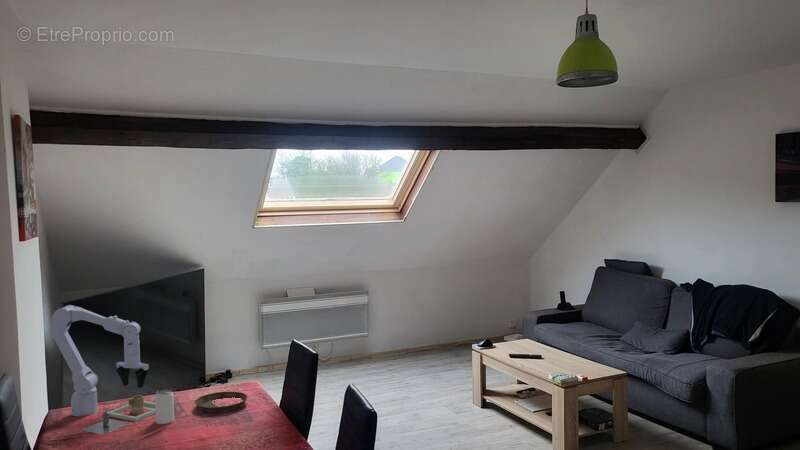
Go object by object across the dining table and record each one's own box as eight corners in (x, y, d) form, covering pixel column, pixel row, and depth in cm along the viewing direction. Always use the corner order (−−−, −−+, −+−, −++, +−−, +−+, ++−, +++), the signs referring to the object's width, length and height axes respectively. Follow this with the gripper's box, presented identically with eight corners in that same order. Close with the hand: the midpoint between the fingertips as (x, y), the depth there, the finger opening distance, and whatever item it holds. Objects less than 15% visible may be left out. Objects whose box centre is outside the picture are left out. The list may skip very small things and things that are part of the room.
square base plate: (80, 431, 219) (80, 415, 218) (109, 420, 229) (108, 404, 229) (103, 436, 213) (102, 419, 213) (131, 425, 224) (130, 409, 224)
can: (167, 426, 222) (166, 394, 222) (152, 425, 224) (151, 393, 223) (177, 420, 229) (176, 389, 228) (162, 419, 230) (161, 388, 230)
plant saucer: (208, 397, 256) (208, 390, 255) (255, 398, 253) (254, 391, 253) (185, 414, 235) (185, 406, 235) (235, 416, 233) (235, 407, 232)
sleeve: (126, 414, 234) (125, 399, 234) (138, 409, 240) (137, 395, 239) (134, 416, 233) (133, 400, 232) (146, 411, 238) (145, 396, 238)
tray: (106, 417, 233) (106, 412, 233) (140, 404, 247) (139, 400, 247) (135, 423, 226) (135, 418, 226) (168, 409, 241) (168, 405, 240)
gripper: (110, 354, 239) (111, 387, 239) (139, 356, 234) (140, 390, 234) (123, 349, 245) (124, 382, 246) (152, 352, 241) (153, 385, 241)
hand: (133, 386), depth 241 cm, fingers open, 7 cm apart
